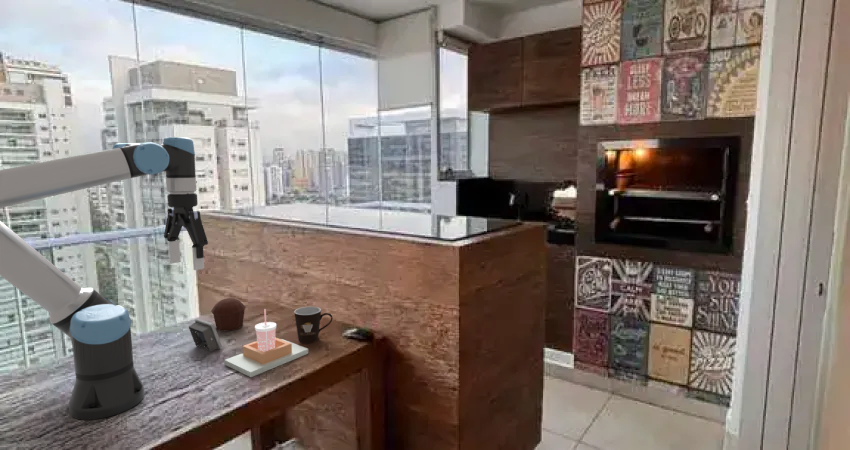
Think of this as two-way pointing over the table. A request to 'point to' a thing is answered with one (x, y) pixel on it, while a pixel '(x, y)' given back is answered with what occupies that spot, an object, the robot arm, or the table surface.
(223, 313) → the muffin
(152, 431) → the table surface
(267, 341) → the beverage cup
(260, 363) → the cup holder
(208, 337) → the electrical switch
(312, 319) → the coffee mug
